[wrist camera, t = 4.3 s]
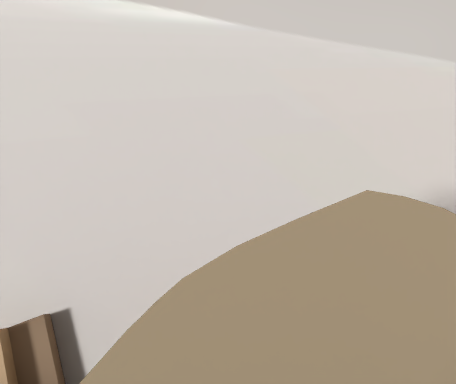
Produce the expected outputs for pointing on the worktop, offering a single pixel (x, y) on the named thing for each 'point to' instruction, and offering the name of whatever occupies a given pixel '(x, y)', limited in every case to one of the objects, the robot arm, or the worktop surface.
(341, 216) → the handle
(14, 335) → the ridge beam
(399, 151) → the worktop surface
